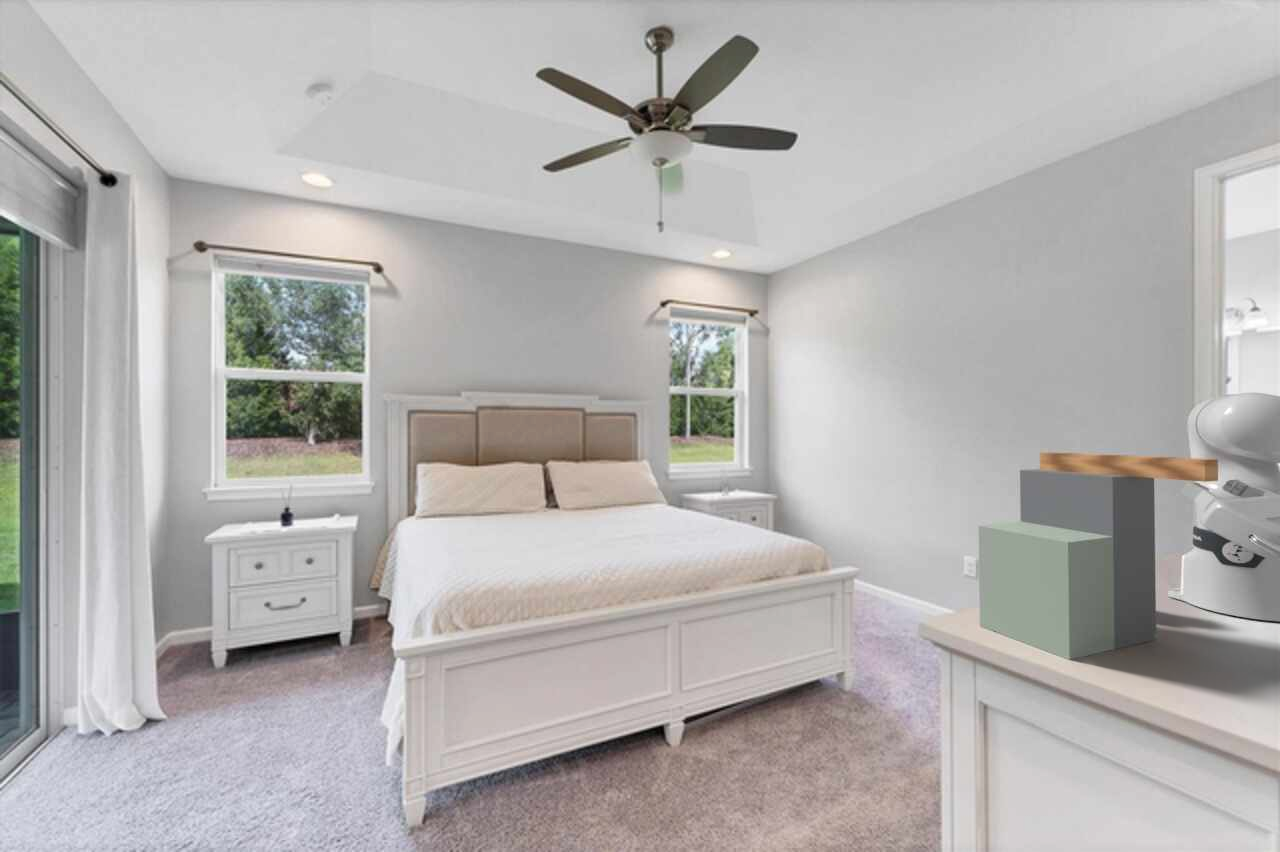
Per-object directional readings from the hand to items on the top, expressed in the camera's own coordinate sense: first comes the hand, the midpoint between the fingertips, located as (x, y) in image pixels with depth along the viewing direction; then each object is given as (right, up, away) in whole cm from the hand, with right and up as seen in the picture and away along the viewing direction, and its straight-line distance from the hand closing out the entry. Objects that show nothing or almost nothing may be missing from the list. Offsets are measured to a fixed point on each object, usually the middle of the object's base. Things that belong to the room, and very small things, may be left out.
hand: (1207, 485), depth 74 cm
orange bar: (-3, +1, +10) cm, 11 cm away
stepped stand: (-9, -26, +13) cm, 30 cm away
